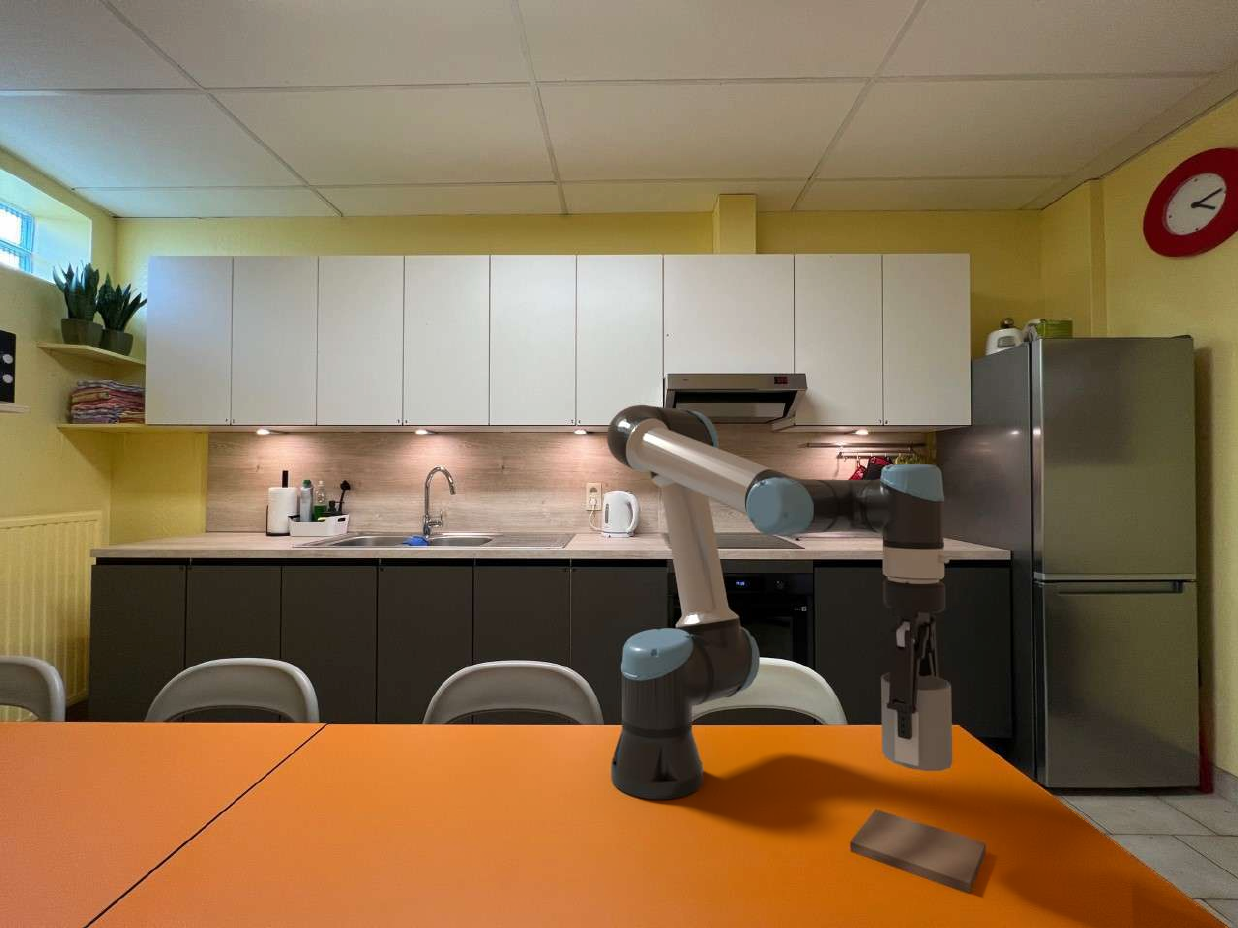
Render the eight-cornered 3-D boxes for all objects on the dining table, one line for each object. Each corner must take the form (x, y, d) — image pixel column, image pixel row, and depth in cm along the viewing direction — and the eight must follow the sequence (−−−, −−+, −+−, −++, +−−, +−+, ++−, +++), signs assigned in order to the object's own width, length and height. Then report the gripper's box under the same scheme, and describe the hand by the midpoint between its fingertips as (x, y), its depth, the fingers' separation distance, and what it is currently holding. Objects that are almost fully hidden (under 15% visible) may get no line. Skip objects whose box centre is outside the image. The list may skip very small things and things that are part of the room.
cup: (960, 773, 79) (959, 692, 79) (890, 767, 80) (889, 688, 81) (940, 746, 87) (939, 673, 87) (877, 741, 89) (876, 670, 89)
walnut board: (850, 850, 83) (850, 841, 83) (875, 817, 92) (875, 808, 92) (969, 893, 74) (969, 883, 74) (985, 852, 83) (985, 842, 83)
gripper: (924, 591, 74) (927, 788, 73) (960, 573, 91) (963, 733, 90) (859, 585, 79) (861, 770, 78) (905, 569, 95) (907, 721, 94)
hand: (916, 750), depth 84 cm, fingers closed on cup, 8 cm apart
